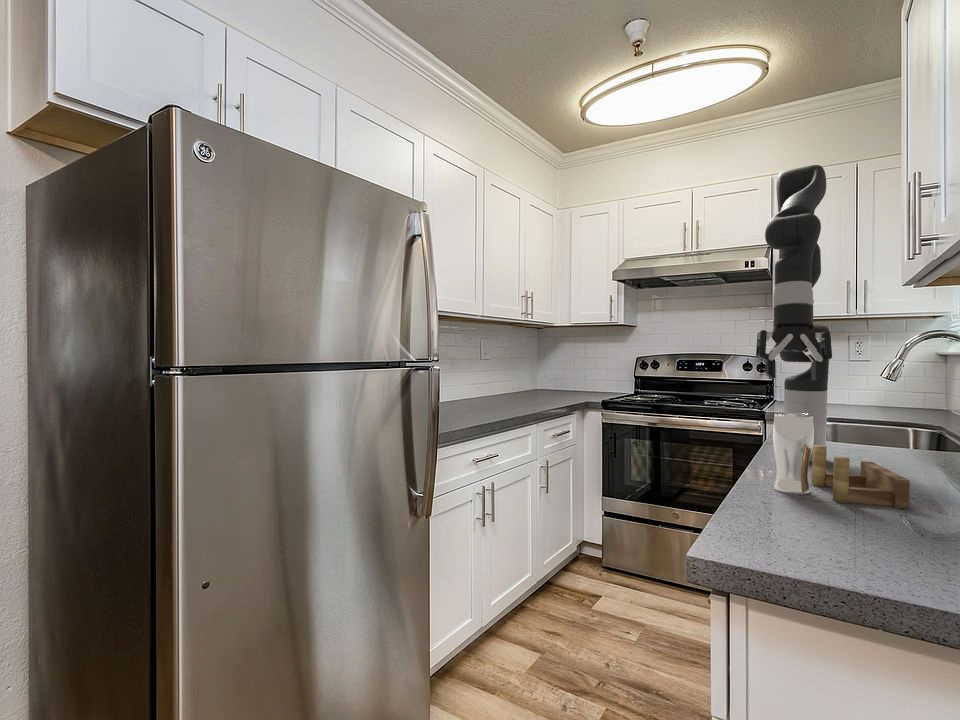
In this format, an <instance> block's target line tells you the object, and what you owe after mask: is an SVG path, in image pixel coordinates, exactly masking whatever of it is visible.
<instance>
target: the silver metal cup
mask: <svg viewBox="0 0 960 720" xmlns="http://www.w3.org/2000/svg"><path fill="white" fill-rule="evenodd" d="M773 418H774V419H773V426H772V428H773V429H772V445H773V451H774V457H775V464H776V474H775V476H776V477H775V481H774V483H773V484H774V485H773V489H774V490H776V491H778V492H781V493H784V494H790V495H807V494H810V489H811V488H810V485H809V477H808V476H809V475H808V474H809V467H810V463H811V462H810V458H811V454H812V449H813V442H814V426H813V415H810V414H803V413H792V412H784V411H783V412H775V413H774V417H773Z"/></svg>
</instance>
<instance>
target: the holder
mask: <svg viewBox="0 0 960 720" xmlns="http://www.w3.org/2000/svg"><path fill="white" fill-rule="evenodd" d="M827 449H828V447H827V445H826V446H823V445H813V457H812V462H811V466H812V467H811V468H812V469H811V485H812V484H813V485H812V486H814V485H816V486H815V487H820V486H825V487H826V486H830V487H829V488H832V502H834V501H836V502H835V503H838V502H841V503H840V504H848V503H847V502H853V503H852V504H859V503H862V504H863V505H874V504H876V506H888V505H889V506H891V507H893V508H895V509H896V508H897V509H908V510H909V509H910V484H911V483H910V481H911V480H910V479H908V478H906V477H904V476H901V475H899V474H897V473H896V472H894V471H892V470H889V469H888V468H885V467H883V466H881V465H880V464H877V463H875V462H873V461H865V460H864V461H863V460H862V461H860V474H854V473H850V460H851V459H850V457H845V456H833V471H832V472H827ZM862 504H861V505H862Z"/></svg>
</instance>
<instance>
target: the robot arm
mask: <svg viewBox="0 0 960 720" xmlns="http://www.w3.org/2000/svg"><path fill="white" fill-rule="evenodd" d="M775 187H776V200H777V201H776V203H777V211H778V212H777V213H776V214H775V215H774V216H773V217H772V218H771V219H770V220H769V221H768V223H767V226H766V228H765V232H764V238H765V242H766V244H767V245H768V247H770V248H771V249H773V250H777V251H778V260H777V261H776V262H775V264H774V290H773V295H772V296H773V302H772V303H773V304H772V305H773V310H772V312H773V326H772V327H773V330H772V331H767V330H765V329H762V330H760V331H758V332H757V337H756V349H755V350H756V352H755V357H756V358H757V359H760V360H763V361H764V362H765V375H766V377H768V380H773V379H774V380H775V379H776V360H775V359H776V358H777V356H779V357H780V359H781V361H783V362H786V363H810V364H811V365H810V367H809V368H808V369H806V370H805V371H802V372H800V373H798V374H794V375H790V376H788V377H786V378H785V379H784V384H783V385H784V386H783V387H784V390H783V391H784V392H783V395H784V396H783V412H792V413H803V414H810V415H813V426H814V442H813V445H823V446H826V447H827V425H828V424H827V421H828V419H827V418H828V417H827V415H828V414H827V413H828V385H829V371H830V370H829V368H830V367H829V364H830V360H831V359H832V358H833V350H832V349H833V348H832V338H831V337H832V336H831V332H830V329H829V328H828V327H827V326H826V325H821V324H817V325H816V324H814V304H815V300H814V290H813V288H814V287H815V285H816V284H817V282H818V281H819V279H820V277H821V275H822V259H821V257H822V256H821V255H822V254H821V247H820V245H819V244H818V241H819V238H820V235H821V231H822V224H821V219H819V217H818V216H817V215H815V211H816V208H817V207H818V206H819V204H821V202H822V200H823V198H824V197H825V195H826V192H827V176H826V171H825V169H824V167H823V166H822V165H820V164H812V165H811V164H810V165H806V166H802V167H796V168H792V169H788V170H784V171H781V172H779V174H778V176H777V178H776V186H775ZM770 338H771V339H772V340H773V342H774V343H775V344H774V346H773V347H772V348H771V349H770V350H769V352H768V353H766V351H767V341H769V340H770ZM812 457H813V449H812V454H811V458H810V463H812Z"/></svg>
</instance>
